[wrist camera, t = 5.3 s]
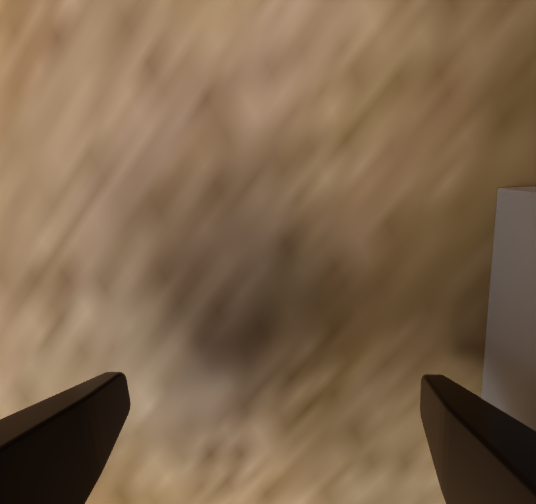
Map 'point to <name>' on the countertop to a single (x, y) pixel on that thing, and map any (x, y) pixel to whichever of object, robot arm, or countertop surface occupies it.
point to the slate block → (512, 308)
